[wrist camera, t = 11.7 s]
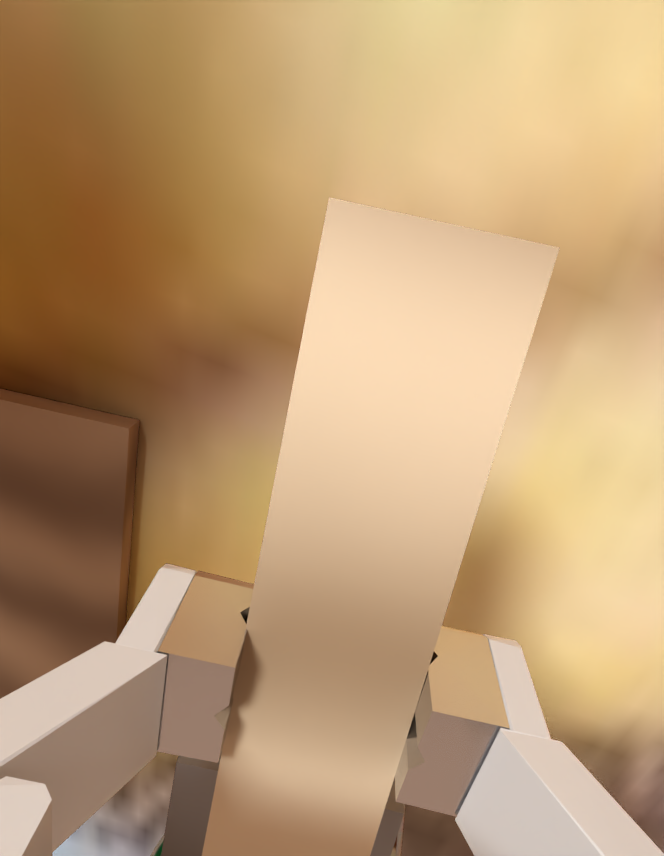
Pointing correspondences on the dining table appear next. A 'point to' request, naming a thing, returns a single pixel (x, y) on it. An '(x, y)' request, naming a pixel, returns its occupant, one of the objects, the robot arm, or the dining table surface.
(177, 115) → the dining table surface
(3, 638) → the wooden board
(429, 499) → the turner
